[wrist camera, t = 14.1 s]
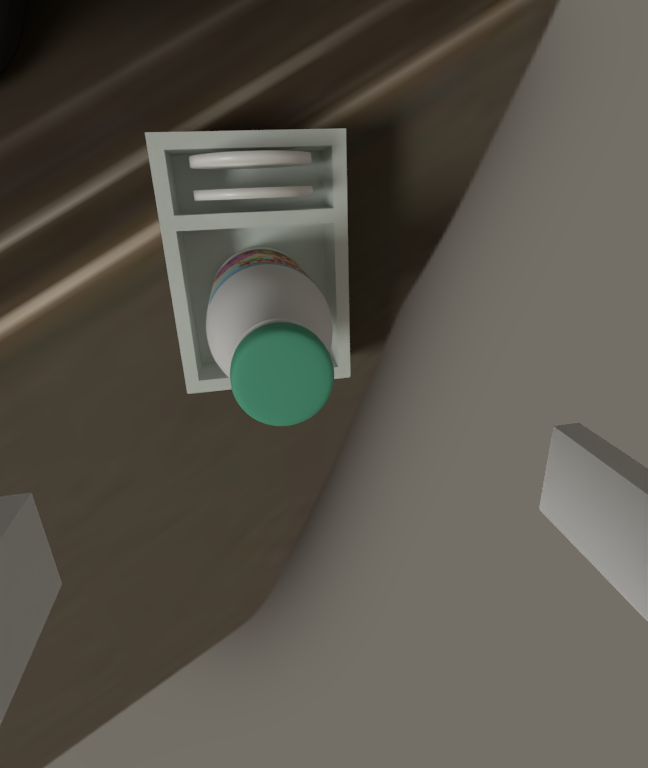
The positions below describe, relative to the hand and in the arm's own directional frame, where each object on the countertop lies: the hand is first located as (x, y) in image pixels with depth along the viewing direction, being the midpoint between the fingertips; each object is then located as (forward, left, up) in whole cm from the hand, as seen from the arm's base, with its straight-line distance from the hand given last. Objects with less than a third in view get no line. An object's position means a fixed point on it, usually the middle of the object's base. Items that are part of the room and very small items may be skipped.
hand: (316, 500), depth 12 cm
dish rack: (0, +2, -30) cm, 30 cm away
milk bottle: (0, 0, -29) cm, 29 cm away
